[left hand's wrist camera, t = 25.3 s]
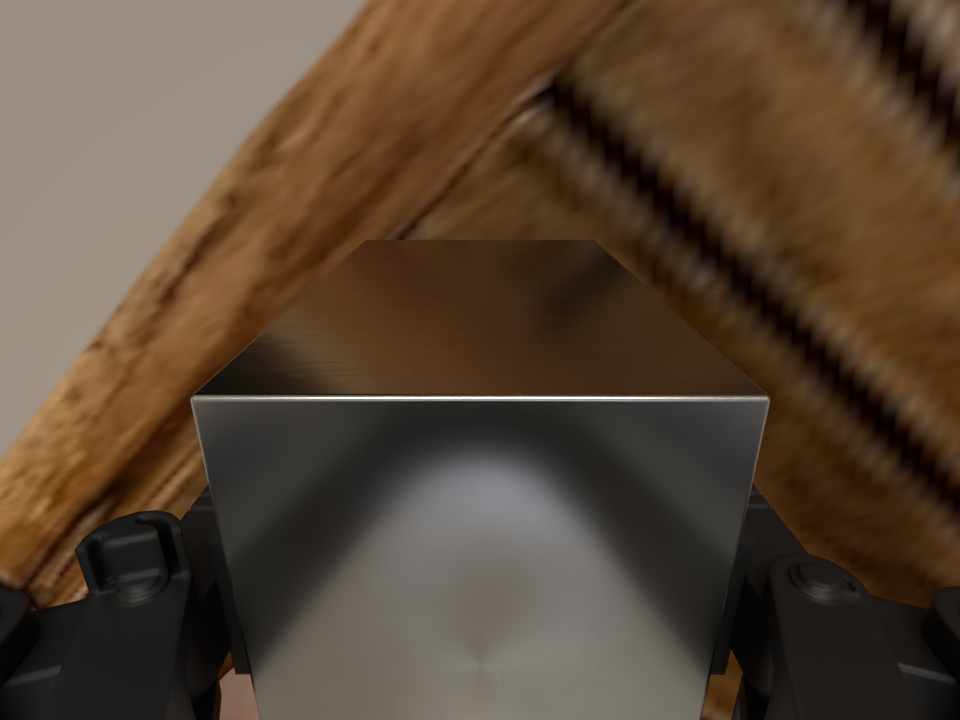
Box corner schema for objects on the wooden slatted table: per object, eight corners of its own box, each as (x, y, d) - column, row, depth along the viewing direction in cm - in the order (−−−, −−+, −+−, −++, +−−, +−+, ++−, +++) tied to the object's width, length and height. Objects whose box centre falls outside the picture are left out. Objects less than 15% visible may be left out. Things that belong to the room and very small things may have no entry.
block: (365, 239, 16) (186, 396, 6) (594, 239, 16) (773, 396, 6) (384, 486, 19) (285, 844, 9) (575, 486, 19) (675, 844, 9)
